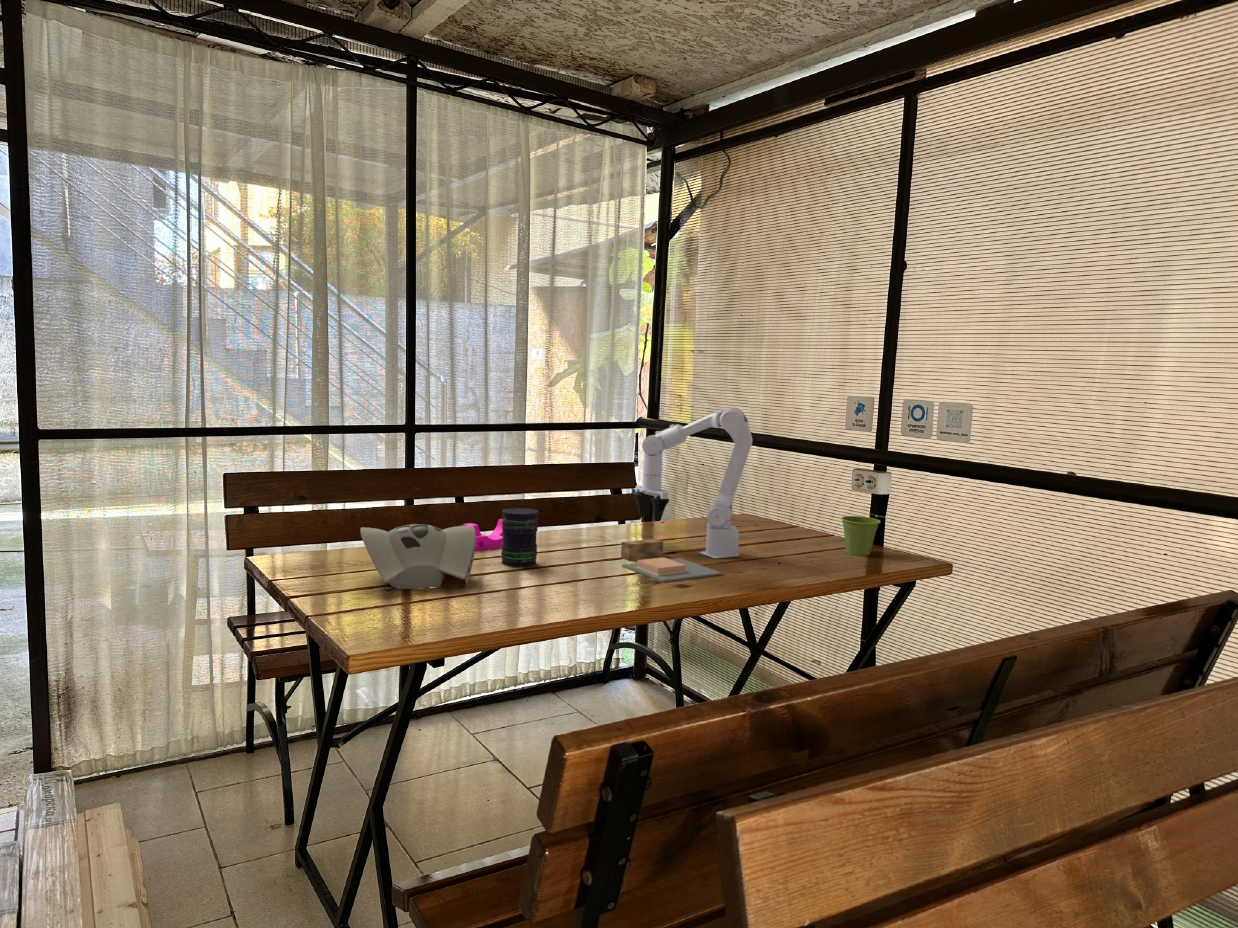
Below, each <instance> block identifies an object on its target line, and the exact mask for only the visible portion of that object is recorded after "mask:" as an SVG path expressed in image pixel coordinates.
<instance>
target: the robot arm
mask: <svg viewBox="0 0 1238 928" xmlns="http://www.w3.org/2000/svg"><path fill="white" fill-rule="evenodd" d="M709 428H717V429H719V428H722V429H723V430H724V431H726V432H727V434H729V436H730V437H731V439H732V441H733V442H734V447H733V448H732V451H731V454H730V456H729V457H730V458H729V461H728V464H727V466H726V470H725V472H724V475H723V478H722V481H721V485H720V488H719V490H718V493H717V494H716V497H715V500H714V501H713V505H712V506H711V507H710V508H709V509H708V511H707V512H706V520H707V522H708V523H706V542H705V551H699V554H700V555H704V556H706V557H710V558H713V559H726V558H734V557H741V554H740V553H739V546H740V544H739V543H740V533H739V530H738V528H737V527H736V526H735V525H732V523H731V522H730V520H731V519H732V516H733V504H734V498H735V495H736V492H737V489H738V487H739V483H740V480H741V477H742V474H743V472H744V469H745V466H746V463H747V459H748V456H749V454H750V450H751V448H752V445H753V436H752V432H751V428H750V424H749V419H748V417H747V416H746V414H745V413H744V411H742V410H741V409H739V408H737V407H735V408H730V409H729V408H728V409H725V410H723V411H719V412H714V413H710V414H709V415H706V416H704V417H702V418H699V419H696V420H695V421H693V422H691V423H689V424H687V425H684V426H683V425H681V424H678V423H677V424H675V423H673V424H670V425H669V427H668V428H665V429H663V430H661V431H659V430H656V431H655V434H653V435H652V434H651V435H648V436H646V437H645V438H644V439H643V440H642V443H641V444H642V445H641V448H642V450H643V460H642V461H643V464H642V480H641V481H642V483H641V484H642V485H635V493H634V494H633V498H634V500H635V503H636V504H637V505H636V506H637V508H638V515H639V517H640V518H646V517H647V516H648V510H649V504H650V502H651V505H652V511H653V512H652V514H653V515H652V516H653V521H654V522H661V521H662V518H663V514H664V511H665V509H666V507H667V506H668V504H669V502H670V498H669V492H668V491H665V490H663V489H662V478H663V477H662V476H663V475H662V474H663V472H662V470H663V452H664V450H665V451H666V450H670V449H671V448H672V449H673V448H675V447H676V446H679V445H681V444H683V443H685V442H686V441H687V439H688V437H689V436H691V435H693V434H696V433H699V432H701V431H703V430H707V429H709ZM652 496H653V497H652Z"/></svg>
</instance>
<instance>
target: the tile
mask: <svg viewBox="0 0 1238 928" xmlns="http://www.w3.org/2000/svg"><path fill="white" fill-rule="evenodd" d="M670 559H671V558H667V557H659V558H650V559H642V560H636V561H637V562H636V563H637V568H640V569H643V570H645V571H648V572H650V573H653V574H655V575H658V576H659V575H667V574H675V573H684V572H685V565H684V564H681V563H678V562H676V561H673V560H670Z"/></svg>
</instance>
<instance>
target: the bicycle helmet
mask: <svg viewBox="0 0 1238 928" xmlns="http://www.w3.org/2000/svg"><path fill="white" fill-rule="evenodd" d="M359 531H360V536H361V539H362V541H363V545H364V547H365V550H366V551H367V553H368V555H369V558H370V560H371V561H372V564H373V566H374V567H375V569H376V571H377V573H378V574H379V576H380V577H381V579H382V580H383V581H384V582H385V583H386V584H387V583H388V584H389V585H390V586H391V587H393V588H394V587H395V588H394V589H396V588H397V589H396V590H399V589H418V590H420V589H419V588H430V587H440V586H450V587H460V586H464V588H466V587H467V585H468V582H469V579H470V577H471V573H472V569H473V568H472V567H473V563H474V559H475V553H476V551H475V544H476V536H475V529H474V527H473V526H470V525H468V526H463V525H458V526H452V527H451V526H450V527H448V528H447V527H446V528H444V529H442V528H440V527H437V526H434V525H430V524H419V523H414V524H406V525H401V526H397V527H395V528H393V529H391V530H389V531H387V530H383V529H380V528H376V527H375V528H372V527H360V530H359ZM440 588H441V587H440Z"/></svg>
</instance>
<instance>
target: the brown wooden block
mask: <svg viewBox="0 0 1238 928" xmlns="http://www.w3.org/2000/svg"><path fill="white" fill-rule="evenodd" d="M620 545H621V546H620V547H621V548H620V559H623V560H624V561H627V562H633V561H637V560H644V559H653V558H663V554H664V552H663V551H664V540H660V539H658V538H653V539H651V538H650V539H642V540H640V539H638V540H630V541H629V540H628V541H621V544H620Z"/></svg>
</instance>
